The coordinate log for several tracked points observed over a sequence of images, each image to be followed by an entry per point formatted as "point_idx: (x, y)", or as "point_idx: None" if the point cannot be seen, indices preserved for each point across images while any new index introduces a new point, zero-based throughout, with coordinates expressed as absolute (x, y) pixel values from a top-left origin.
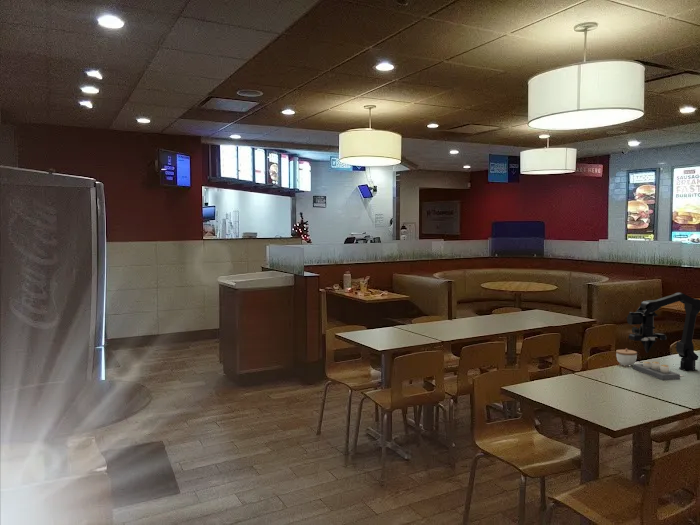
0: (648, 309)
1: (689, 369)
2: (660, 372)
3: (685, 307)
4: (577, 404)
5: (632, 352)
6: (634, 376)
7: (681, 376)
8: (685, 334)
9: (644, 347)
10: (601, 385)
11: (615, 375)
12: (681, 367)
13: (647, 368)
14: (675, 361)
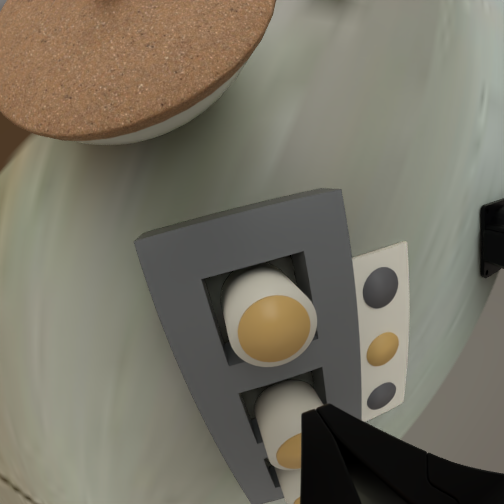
0: None
1: (496, 266)
2: (275, 469)
3: None
4: None
5: (162, 59)
6: (111, 448)
7: (391, 406)
8: None
9: (303, 498)
10: (12, 498)
11: (17, 421)
12: (488, 244)
13: (226, 403)
14: (492, 50)
